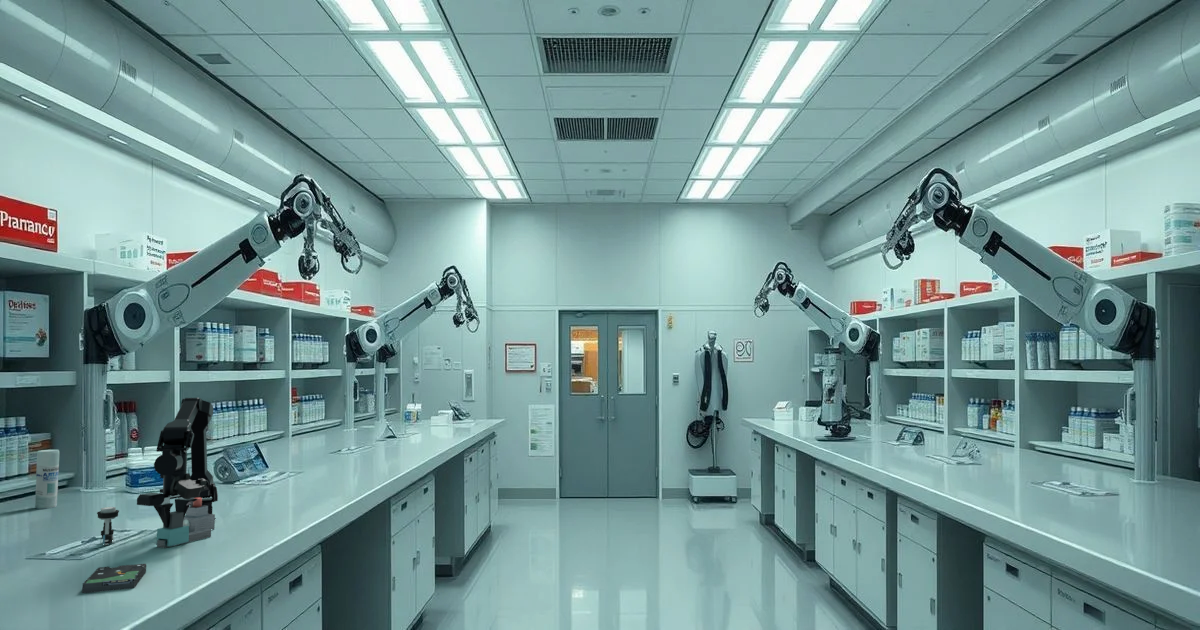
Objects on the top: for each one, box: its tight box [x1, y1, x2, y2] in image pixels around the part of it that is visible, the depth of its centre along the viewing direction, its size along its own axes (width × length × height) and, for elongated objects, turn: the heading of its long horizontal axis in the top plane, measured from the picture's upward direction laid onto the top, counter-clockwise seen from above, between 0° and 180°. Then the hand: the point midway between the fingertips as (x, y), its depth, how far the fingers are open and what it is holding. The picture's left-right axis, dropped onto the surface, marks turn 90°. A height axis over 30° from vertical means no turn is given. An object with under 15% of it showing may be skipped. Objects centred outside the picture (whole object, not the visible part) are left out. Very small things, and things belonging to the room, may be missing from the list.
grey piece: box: [183, 505, 216, 533], centre depth 233 cm, size 7×7×7 cm
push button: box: [96, 506, 120, 546], centre depth 215 cm, size 7×5×10 cm
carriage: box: [155, 510, 190, 547], centre depth 214 cm, size 6×5×8 cm
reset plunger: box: [193, 497, 202, 507], centre depth 233 cm, size 2×2×2 cm
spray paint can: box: [34, 449, 61, 510], centre depth 271 cm, size 6×6×20 cm
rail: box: [156, 529, 212, 549], centre depth 218 cm, size 15×3×2 cm, turn 157°
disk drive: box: [81, 563, 147, 594], centre depth 178 cm, size 10×3×15 cm
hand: (173, 526), depth 214 cm, fingers closed on carriage, 3 cm apart
